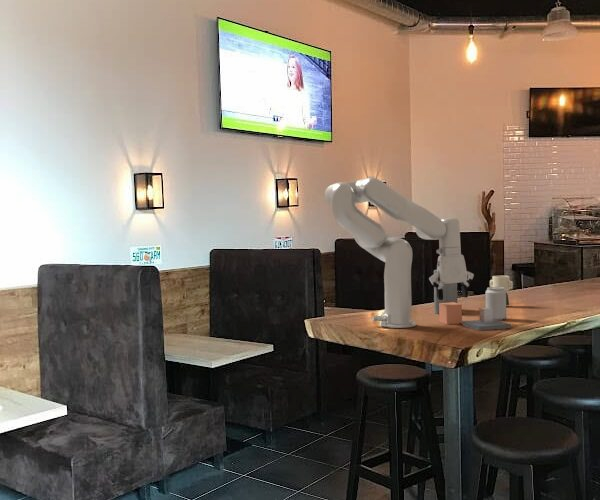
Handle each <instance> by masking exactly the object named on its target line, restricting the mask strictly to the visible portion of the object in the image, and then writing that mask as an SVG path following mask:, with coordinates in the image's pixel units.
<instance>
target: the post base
mask: <svg viewBox="0 0 600 500" xmlns="http://www.w3.org/2000/svg"><path fill="white" fill-rule="evenodd" d="M478 310H479V313H478V314H479V317H478V319H474V320H462V323H461V325H462V326H463V327H466V328H469V329H472V330H475V331H479V332H480V331H481V332H482V331H495V330H494V329H497V330H506V328H511V329H512V324H511V323H508V322H504V321H502V320H494V319H492V309H491V308H486V307H479V309H478Z"/></svg>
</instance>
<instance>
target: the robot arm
mask: <svg viewBox="0 0 600 500" xmlns="http://www.w3.org/2000/svg"><path fill="white" fill-rule="evenodd" d="M324 199H325V202H326V203H327V204H328V205H329V206H331V211H332V215H333V217H334V219H335V222H337V224H338V225H339V226H340V227H342V228H343V229H344V230H345V231H347V232H348V233H349V234H350V235H352V236H353V239H354V240H355V243H357V244H358V246H359V247H360V248H362V249H364V250H365V251H366V252H368V253H369V254H371V255H372V256H373V257H375V258H377V259H379V260H380V261H382V262H383V263H385V264H384V271H383V279H384V280H383V283H384V286H383V287H384V312H381V313H382V314H380V315H373V316H372V317H371V319H372V320H371V321H372V322H380V326H382V327H384V328H389V329H407V328H413V327H416V326H417V321H415V320H412V318H413V315H412V263H413V247H411V246H412V245H410V243H409V242H408V240H405V239H404V238H400V237H392V236H391V235H389V234H387V231H386V229H385V228H384V226H383V225H382V224H380V223H379V222H377V221H375V220H374V219H372V217H369V216H368V215H366V214H364V213H363V212H362V211H361V210H360V209H359V208H358V207H357V205H356V204H363V203H365V202H368V203H370V204H371V205H373V206H374V207H376V208H378V209H379V210H380V211H382V212H383V213H384V214H386V215H387V216H389V217H390V218H393V219H395V220H397V221H400V222H404V223H406V224H408V225H410V226H413V227H414V228H415V233H416V235H417V236H418V238H421V240H422V239H423V240H428V241H430V240H431V241H432V240H433V241H434V240H435V241H436V240H438V243H439V244H438V245H439V246H438V247H439V248H438V249H436V254H438V255H439V256H438V258H437V264H436V270H437V273H435V274H434V273H433V274H432V275H431V276H430V277H429V278H428V280H429V281H430V283H431V285H432V286H433V288H434V287H435V288H436V290H437V298H438V299H439V300H443V289H441V288H442V286H443V285H444V284H450V283H457V284H458V283H460V284H461V285H462V286H461V297H462V298H468V295H469V287H470V284H471V283H472V280H473V279H474V276H475V274H474V273H472V272H470V271H468V270H467V266H466V260H465V256H464V255H463V254H462V252H461V250H462V249H461V247H462V246H461V229H460V226H461V225H460V220H459V218H457V217H446V218H439V217H438V216H436V215H435V214H434V213H432V212H431V211H429V210H428V209H426V208H425V207H422V206H421V205H420V204H418V203H416V202H413V201H412V200H410V199H408V198H406V197H405V196H403V194H400V193H399V192H398V191H396V190H395V189H393V188H392V187H390V186H389V185H388V184H386V183H385V182H383V181H382V180H380V179H378V178H377V177H374V176H373V177H372V176H370V177H366V178H362V179H358V180H353V181H345V182H343V181H340V182H336V183H332V184H331V185H329V186H328V187H326V189H325V192H324ZM435 278H437V280H438V283H436V282H435Z"/></svg>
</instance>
